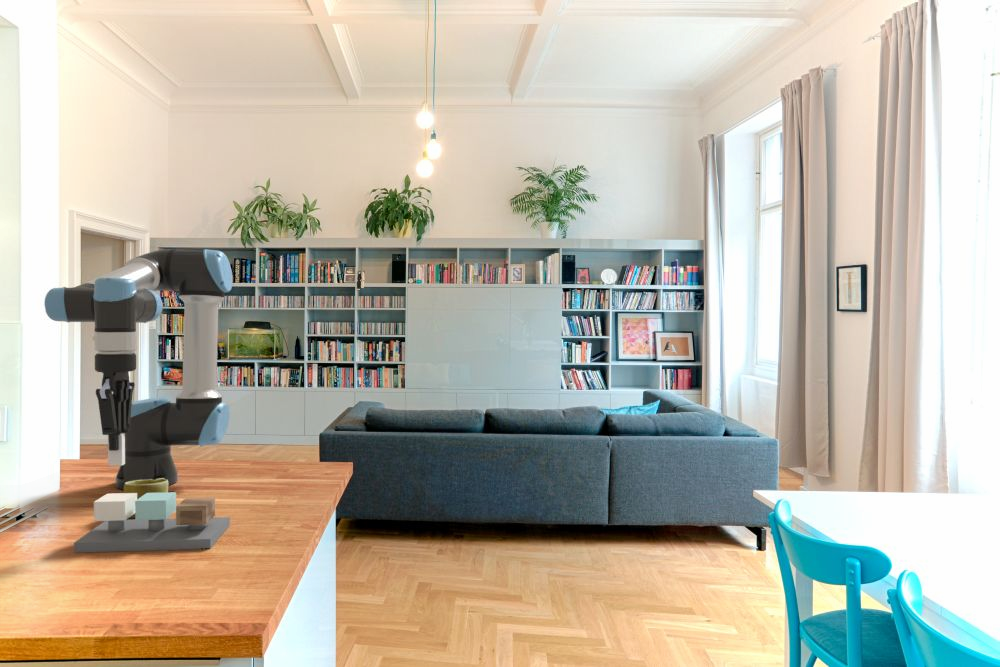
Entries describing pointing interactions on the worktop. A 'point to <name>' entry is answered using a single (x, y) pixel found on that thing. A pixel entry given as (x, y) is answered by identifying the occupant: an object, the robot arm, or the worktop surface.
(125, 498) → the ivory key
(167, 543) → the console
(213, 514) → the walnut key
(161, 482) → the mug
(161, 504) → the teal key
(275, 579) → the worktop surface
